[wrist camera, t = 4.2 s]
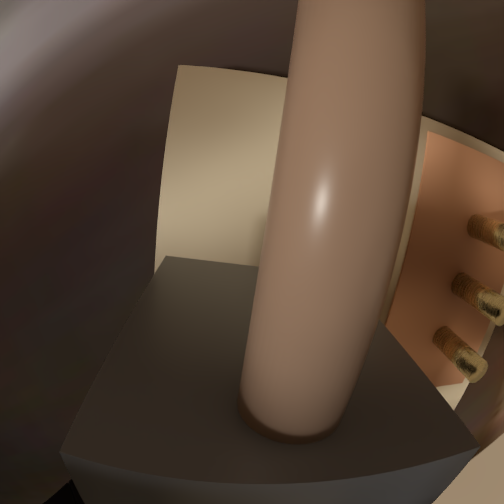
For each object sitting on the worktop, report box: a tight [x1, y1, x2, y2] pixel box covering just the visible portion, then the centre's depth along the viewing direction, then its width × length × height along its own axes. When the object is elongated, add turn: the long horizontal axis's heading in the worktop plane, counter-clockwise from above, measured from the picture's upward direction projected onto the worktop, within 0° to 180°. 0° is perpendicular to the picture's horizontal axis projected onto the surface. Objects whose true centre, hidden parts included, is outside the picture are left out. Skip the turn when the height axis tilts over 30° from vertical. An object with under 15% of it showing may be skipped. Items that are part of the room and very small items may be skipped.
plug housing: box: [59, 0, 481, 504], centre depth 6 cm, size 14×4×6 cm, turn 172°
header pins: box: [433, 214, 504, 383], centre depth 10 cm, size 6×1×3 cm, turn 172°
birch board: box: [155, 65, 504, 410], centre depth 12 cm, size 16×16×2 cm
